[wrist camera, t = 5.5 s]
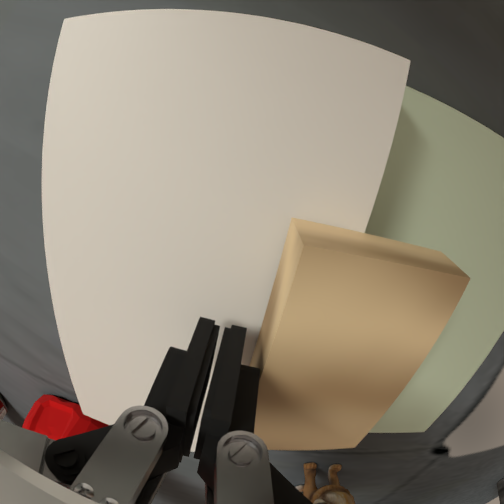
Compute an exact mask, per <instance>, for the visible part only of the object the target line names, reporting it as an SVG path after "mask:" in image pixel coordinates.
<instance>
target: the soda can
mask: <svg viewBox="0 0 504 504" xmlns="http://www.w3.org/2000/svg"><path fill="white" fill-rule="evenodd" d="M7 411H8V410H7V407H6V405H5V401H4V399H3V398H2V396H1V395H0V420H2V419H3V417H4V416H5V414H6V413H7Z"/></svg>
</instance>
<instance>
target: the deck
mask: <svg viewBox="0 0 504 504" xmlns="http://www.w3.org/2000/svg"><path fill="white" fill-rule="evenodd" d="M409 67H410V60H408V59H406V58H403V57H401V56H399V55H396V54H394V53H391V52H389V51H386V50H384V49H381V48H378V47H376V46H373V45H370V44H367V43H365V42H362V41H359V40H356V39H353V38H350V37H346V36H343V35H340V34H337V33H333V32H330V31H326V30H322V29H318V28H315V27H311V26H306V25H302V24H298V23H293V22H288V21H283V20H278V19H273V18H267V17H261V16H254V15H247V14H240V13H231V12H221V11H208V10H189V9H149V10H130V11H117V12H107V13H99V14H91V15H85V16H78V17H73V18H67V19H64V22H63V26H62V29H61V33H60V37H59V41H58V45H57V50H56V54H55V59H54V64H53V69H52V74H51V80H50V86H49V92H48V99H47V107H46V116H45V126H44V138H43V155H42V213H43V230H44V243H45V253H46V262H47V270H48V277H49V284H50V290H51V296H52V302H53V307H54V313H55V317H56V322H57V327H58V331H59V336H60V340H61V344H62V348H63V352H64V356H65V359H66V363H67V366H68V370H69V373H70V377H71V380H72V383H73V386H74V389H75V392H76V395H77V398H78V401H79V404H80V407H81V410H82V412H83V414H84V415H86V416H89V417H91V418H93V419H96V420H98V421H101V422H103V423H105V424H108V425H113V424H114V423H115V422H116V421H117V419H118V418H119V416H120V415H121V414H122V413H123V412H124V411H125V410H126V409H128V408H130V407H133V406H139V405H140V406H144V404H145V402H146V399H147V397H148V395H149V392H150V390H151V388H152V385H153V383H154V381H155V379H156V376H157V374H158V372H159V369H160V367H161V365H162V363H163V360H164V358H165V356H166V354H167V351H168V349H169V348H170V347H175V348H178V349H182V350H185V351H187V349H188V346H189V344H190V341H191V339H192V336H193V333H194V331H195V328H196V326H197V323H198V320H199V318H200V317H204V318H208V319H211V320H215V325H219V326H220V330H219V335H218V339H217V344H216V349H215V354H214V359H213V363H212V368H211V373H210V378H209V382H208V386H207V389H206V393H205V397H204V401H203V405H202V408H201V412H200V416H199V420H198V423H197V427H196V431H195V435H194V439H193V443H192V446H191V450H190V451H192V452H195V449H196V443H197V438H198V433H199V428H200V423H201V418H202V414H203V410H204V406H205V402H206V398H207V394H208V390H209V386H210V382H211V378H212V375H213V371H214V367H215V363H216V359H217V355H218V352H219V348H220V344H221V340H222V336H223V332H224V329H225V327H227V328H231V326H232V325H236V326H240V327H245V328H247V331H246V337H245V343H244V349H243V355H242V361H241V364H242V365H246V366H250V363H251V359H252V356H253V353H254V349H255V346H256V343H257V339H258V336H259V332H260V329H261V326H262V322H263V319H264V315H265V312H266V308H267V305H268V301H269V298H270V294H271V291H272V287H273V284H274V280H275V277H276V273H277V270H278V266H279V262H280V259H281V255H282V252H283V248H284V244H285V241H286V237H287V233H288V229H289V226H290V222H291V218H297V219H302V220H307V221H311V222H316V223H321V224H326V225H330V226H335V227H340V228H344V229H349V230H353V231H358V232H362V233H364V232H365V230H366V227H367V224H368V221H369V218H370V215H371V212H372V209H373V206H374V203H375V200H376V196H377V193H378V190H379V187H380V184H381V180H382V177H383V174H384V170H385V167H386V163H387V160H388V156H389V153H390V149H391V145H392V141H393V138H394V134H395V130H396V126H397V122H398V118H399V114H400V109H401V105H402V101H403V96H404V91H405V87H406V82H407V77H408V72H409Z"/></svg>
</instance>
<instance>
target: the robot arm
mask: <svg viewBox="0 0 504 504" xmlns="http://www.w3.org/2000/svg"><path fill="white" fill-rule="evenodd" d="M219 330H220V326H219V325H215V320H211V319H208V318H204V317H200V318H199V320H198V323H197V326H196V328H195V331H194V333H193V336H192V339H191V341H190V344H189V346H188V349H187V351H185V350H182V349H178V348H175V347H170V348H169V349H168V351H167V354H166V356H165V358H164V360H163V363H162V365H161V367H160V369H159V372H158V374H157V376H156V379H155V381H154V383H153V385H152V388H151V390H150V392H149V395H148V397H147V399H146V402H145V404H144V406H140V405H139V406H133V407H130V408H128V409H126V410H125V411H124V412H123V413H122V414H121V415H120V416H119V418H118V419H117V421H116V422H115V423H114V424H113V425H109V426H106V427H103V428H99V429H96V430H92V431H89V432H85V433H81V434H77V435H74V436H70V437H66V438H61V439H58V440H53V439H50V438H48V436H46V435H43V434H40V433H37V432H34V431H31V430H28V429H25V428H22V427H19V426H16V425H13V424H11V423H8V422H6V421H3V420H0V504H151V503H152V501H153V499H154V497H155V495H156V494H157V492H158V490H159V488H160V486H161V484H162V482H163V480H164V478H165V476H166V474H167V472H168V471H171V470H173V469H176V468H178V465H179V462H181V460H182V456H183V455H184V456H188V457H189V454H190V450H191V446H192V443H193V439H194V435H195V431H196V427H197V423H198V420H199V416H200V412H201V408H202V405H203V401H204V397H205V393H206V389H207V386H208V382H209V378H210V373H211V368H212V363H213V359H214V354H215V349H216V344H217V339H218V335H219ZM246 331H247V328H245V327H240V326H236V325H232V326H231V328H227V327H225V329H224V332H223V336H222V340H221V344H220V348H219V352H218V355H217V359H216V363H215V367H214V371H213V375H212V378H211V382H210V386H209V390H208V394H207V398H206V402H205V406H204V410H203V414H202V418H201V423H200V428H199V433H198V438H197V443H196V449H195V454H194V458H196V459H200V462H199V466H198V471H197V473H198V474H199V475H200V477H201V478H202V479H203V480H204V482H205V504H313V503H312V502H311V501H310V500H309V499H307V498H306V497H305V496H304V495H303V494H302V493H301V492H300V491H299V490H298V489H297V488H295V487H294V486H293V485H292V484H291V483H290V482H289V481H288V480H287V479H286V478H285V477H284V476H283V475H282V474H281V473H280V472H279V471H278V470H277V469H276V468H275V467H274V466H273V465H272V464H271V463H270V462H269V453H268V449H267V446H266V444H265V443H264V441H263V440H262V439H261V438H259V437H258V436H257V435H255V434H254V427H255V417H256V408H257V398H258V388H259V378H260V368H256V367H251V366H246V365H242V364H241V361H242V355H243V349H244V343H245V337H246Z"/></svg>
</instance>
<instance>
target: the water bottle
mask: <svg viewBox="0 0 504 504" xmlns="http://www.w3.org/2000/svg"><path fill="white" fill-rule="evenodd" d="M106 426H109V425H108V424H105V423H103V422H101V421H98V420H96V419H93V418H91V417H89V416H86V415H84V414H83V412H82V410H81V407H80V405H79V404H76V403H73V402H69V401H66V400H64V399H61V398H59V397H56V396H53V395H43V396H41V397H40V398H39V399H38V400H37V401H36V402H35V403H34V405H33V406H32V408H31V410H30V412H29V413H28V415H27V417H26V418H25V420H24V423H23V426H22V428H25V429H28V430H31V431H34V432H37V433H40V434H43V435H46V436H48V438H50V439H53V440H58V439H61V438H66V437H70V436H74V435H77V434H81V433H85V432H89V431H92V430H96V429H99V428H103V427H106Z"/></svg>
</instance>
